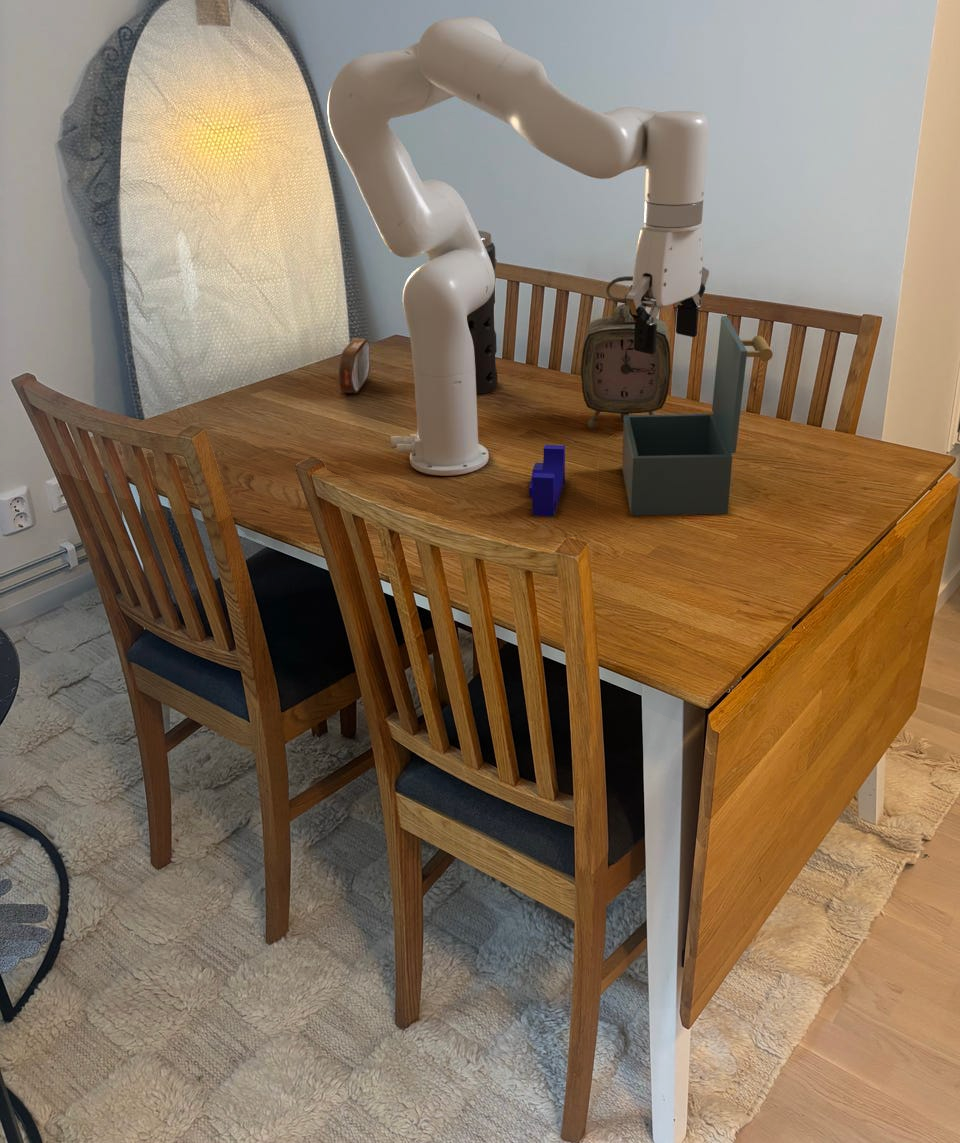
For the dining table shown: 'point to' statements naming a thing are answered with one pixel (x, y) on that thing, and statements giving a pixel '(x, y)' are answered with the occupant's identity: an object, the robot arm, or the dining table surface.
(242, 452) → the dining table surface
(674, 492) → the chest
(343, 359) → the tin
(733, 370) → the lid
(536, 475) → the blue stepped block
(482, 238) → the muzzle brake
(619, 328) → the tabletop clock
